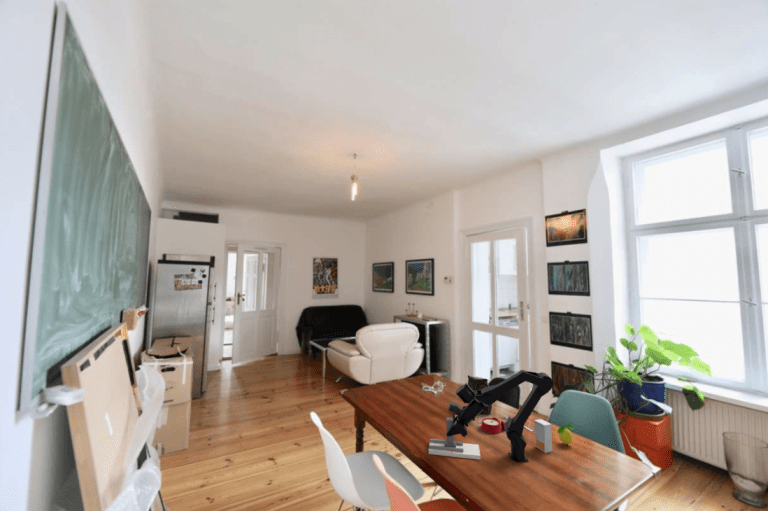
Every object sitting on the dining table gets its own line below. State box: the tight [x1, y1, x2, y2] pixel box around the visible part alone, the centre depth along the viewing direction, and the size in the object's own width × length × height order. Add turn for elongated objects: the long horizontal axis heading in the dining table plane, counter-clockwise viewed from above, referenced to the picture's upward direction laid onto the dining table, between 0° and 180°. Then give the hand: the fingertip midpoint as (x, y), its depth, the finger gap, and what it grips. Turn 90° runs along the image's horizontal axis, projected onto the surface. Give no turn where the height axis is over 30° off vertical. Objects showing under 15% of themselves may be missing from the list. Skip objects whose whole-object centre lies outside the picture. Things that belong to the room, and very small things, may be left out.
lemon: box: [557, 422, 575, 446], centre depth 155 cm, size 7×6×10 cm
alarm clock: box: [476, 416, 506, 435], centre depth 171 cm, size 10×6×15 cm
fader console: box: [428, 438, 481, 461], centre depth 148 cm, size 22×10×3 cm, turn 78°
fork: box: [503, 413, 534, 432], centre depth 175 cm, size 3×24×2 cm, turn 25°
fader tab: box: [444, 417, 456, 448], centre depth 149 cm, size 5×4×12 cm
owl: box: [467, 374, 493, 416], centre depth 194 cm, size 13×13×20 cm
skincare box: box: [533, 418, 553, 454], centre depth 150 cm, size 6×4×12 cm
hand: (447, 433), depth 149 cm, fingers closed on fader tab, 3 cm apart
